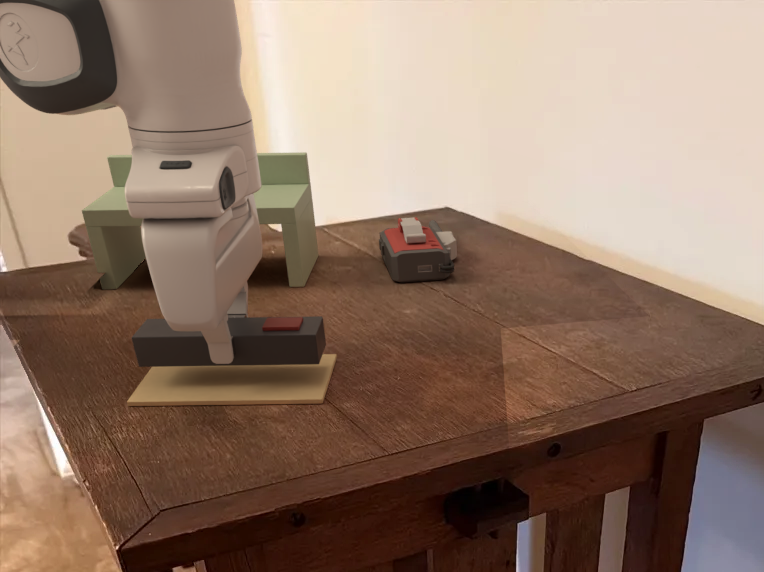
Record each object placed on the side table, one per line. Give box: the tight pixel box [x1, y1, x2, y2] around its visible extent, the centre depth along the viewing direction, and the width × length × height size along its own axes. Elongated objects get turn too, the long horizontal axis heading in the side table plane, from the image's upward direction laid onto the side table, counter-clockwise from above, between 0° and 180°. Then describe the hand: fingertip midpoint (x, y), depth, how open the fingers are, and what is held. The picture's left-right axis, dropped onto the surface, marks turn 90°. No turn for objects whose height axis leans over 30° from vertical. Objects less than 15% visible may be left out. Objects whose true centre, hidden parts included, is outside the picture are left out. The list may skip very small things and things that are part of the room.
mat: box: [126, 353, 338, 407], centre depth 79 cm, size 16×10×1 cm, turn 90°
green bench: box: [81, 151, 319, 290], centre depth 100 cm, size 22×12×11 cm, turn 90°
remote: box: [131, 315, 327, 368], centre depth 76 cm, size 15×4×3 cm, turn 90°
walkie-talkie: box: [378, 216, 458, 283], centre depth 106 cm, size 9×4×20 cm
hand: (231, 347), depth 77 cm, fingers closed on remote, 4 cm apart
